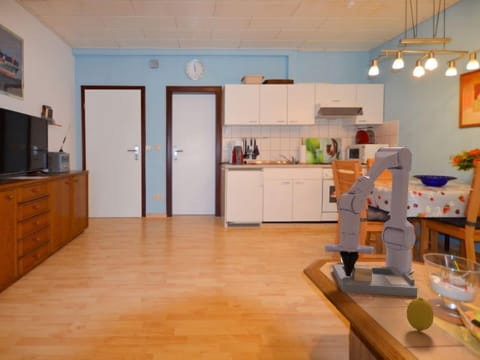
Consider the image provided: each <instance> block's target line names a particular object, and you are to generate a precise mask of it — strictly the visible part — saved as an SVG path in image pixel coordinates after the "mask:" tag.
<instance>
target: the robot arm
mask: <svg viewBox="0 0 480 360" xmlns="http://www.w3.org/2000/svg"><path fill="white" fill-rule="evenodd" d="M412 162H413V153H412V151H411V149H409V147H407V146H402V147H397V146H396V147H392V146H391V147H385V146H380V147H379V148H378V149H377V151H376V152H375V153H374V161H372V163H371V165H370V167H369V168H368V170H367V171H366V173H365V175H360V176H359V177H357V178H356V180H355V182H353V184H352V186H351V187H350V188H349V189H348V191H347V192H345V193H342V194H341V195H339V197H338V199H337V202H336V207H337V209H338V215H339V217H340V223H339V227H340V228H339V244H324V252H325V253H329V252H330V253H339V256H340V259H341V258H342V261H343V263H342V265H344V268H345V275H346V276H347V277H351V273H352V270H353V267H354V265H355V263H357V261H358V260H359V256H360V255H359V254H367V255H368V254H370V255H374V254H375V247H373V246H367V245H360V224H361V223H360V222H361V213H362V212H363V211H364V210H365V207H366V202H367V198H368V197H369V196H370V195H371V193H372V192H373V190H374V189H375V187H376V185H375V182H376V181H377V180H378V179H379V177H380V176H381V175H382V174H383V173H384V172H385V171H386V170H387V171H389V173H390V174H391V176H392V177H391V198H390V199H391V200H390V218H389V220H386V222H384V223H383V229H382V232H381V234H380V235H381V237H380V238H381V240H382V242H383V243H384V246H385V247H386V248H385V249H386V253H385V255H386V256H385V267H393V268H397V269H398V270H399V271H400V272H401V273H402V274H403V272H404V273H407V274H408V275H411V273H414V272H415V270H414V269H412V266H413V265H412V263H413V262H412V260H413V253H412V250H411V249H412V248H413V247H414V246H415V243H416V240H417V239H416V237H417V236H416V233H415V227H414V225H413V224H412V223H410V221H408V220H407V218H408V203H409V201H408V198H409V183H410V182H409V181H410V180H409V179H410V172H411V171H412V165H413V163H412Z"/></svg>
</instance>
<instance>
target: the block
mask: <svg viewBox="0 0 480 360" xmlns="http://www.w3.org/2000/svg"><path fill="white" fill-rule="evenodd" d="M371 266H372V265H370V264H369V263H360V262H359V263H358V262H356V263H355V265H354V267H353V270H352V277H353V279H354V280H355V281H369V282H372V268H371Z"/></svg>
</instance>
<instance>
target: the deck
mask: <svg viewBox="0 0 480 360" xmlns="http://www.w3.org/2000/svg"><path fill="white" fill-rule="evenodd" d="M370 266H371V268H372V282H369V281H355V280H354V279H353V277H352V273H351V277H347V276H346V275H345V268H344V264H336V263H333V264H332V273H333V275H334V277H335V279H336V280H337V282H338V286H339V287H340V289H341V291H342V293H347V292H348V293H350V294H368V295H385V296H386V295H388V296H401V297H403V296H404V297H418V287H417V286H416V285H415V279H414V278H413V276H411V274H407V273H404V272H403V274H402V273H401V272H400V271H399V270H398V269H397V268H393V267H386V266H379V265H378V266H375V265H370ZM385 276H392V277H403V278H404V279H405V280H406V281H407V282H408V283H409V284H411V285H405V284H391V283H390V282H389V280H388V279H387V278H386V277H385ZM348 293H347V294H348Z"/></svg>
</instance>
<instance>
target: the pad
mask: <svg viewBox="0 0 480 360" xmlns="http://www.w3.org/2000/svg"><path fill="white" fill-rule="evenodd" d="M385 277H386V278H387V279H388V280H389V282H390V283H391V284H405V285H411V284H409V283H408V282H407V281H406V280H405V279H404V278H403V277H392V276H385Z"/></svg>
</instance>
